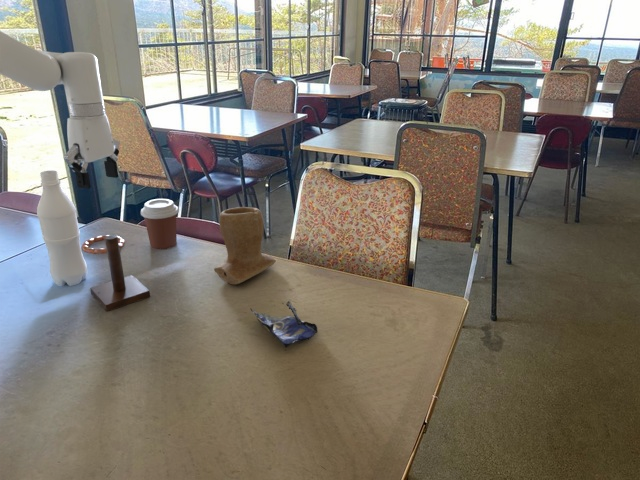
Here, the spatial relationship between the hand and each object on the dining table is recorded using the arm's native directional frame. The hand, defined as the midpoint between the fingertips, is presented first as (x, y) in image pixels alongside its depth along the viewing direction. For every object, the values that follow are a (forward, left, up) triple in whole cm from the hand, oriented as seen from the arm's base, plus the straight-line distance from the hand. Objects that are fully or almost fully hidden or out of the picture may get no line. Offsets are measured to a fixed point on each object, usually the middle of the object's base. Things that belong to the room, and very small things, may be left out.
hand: (98, 182), depth 116 cm
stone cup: (+19, -33, -17) cm, 42 cm away
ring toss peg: (-7, -26, -17) cm, 32 cm away
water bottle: (-13, -14, -17) cm, 26 cm away
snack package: (+11, -59, -17) cm, 62 cm away
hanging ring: (-1, 0, -16) cm, 16 cm away
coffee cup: (+11, -9, -17) cm, 22 cm away
